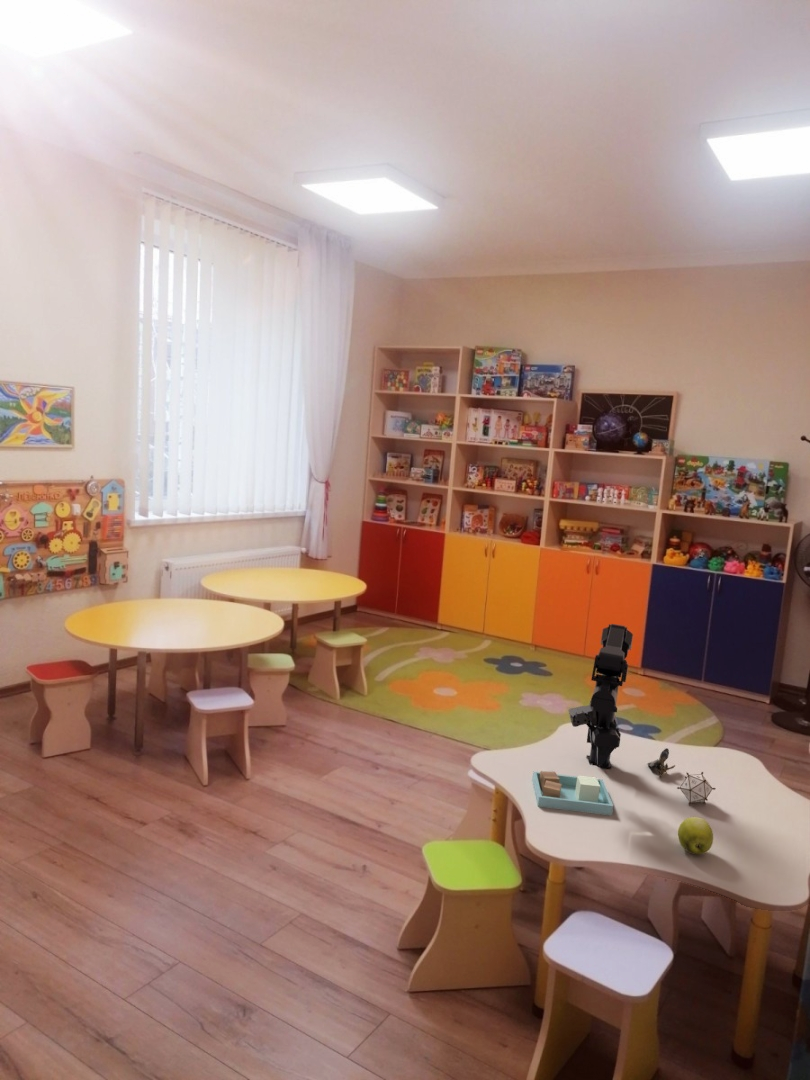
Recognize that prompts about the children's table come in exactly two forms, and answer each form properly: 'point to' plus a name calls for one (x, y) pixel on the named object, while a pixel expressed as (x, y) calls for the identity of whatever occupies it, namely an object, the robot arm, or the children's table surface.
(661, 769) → the eagle figurine
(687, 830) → the apple
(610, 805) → the tray
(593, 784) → the sage block
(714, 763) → the children's table surface
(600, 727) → the robot arm
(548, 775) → the walnut block
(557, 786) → the walnut block
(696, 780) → the game die
